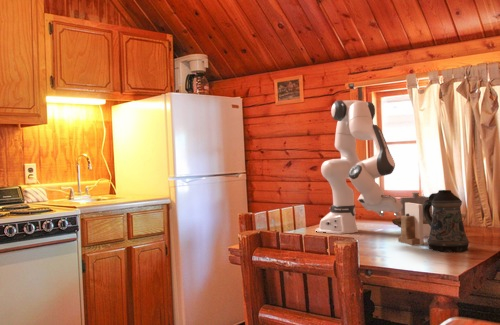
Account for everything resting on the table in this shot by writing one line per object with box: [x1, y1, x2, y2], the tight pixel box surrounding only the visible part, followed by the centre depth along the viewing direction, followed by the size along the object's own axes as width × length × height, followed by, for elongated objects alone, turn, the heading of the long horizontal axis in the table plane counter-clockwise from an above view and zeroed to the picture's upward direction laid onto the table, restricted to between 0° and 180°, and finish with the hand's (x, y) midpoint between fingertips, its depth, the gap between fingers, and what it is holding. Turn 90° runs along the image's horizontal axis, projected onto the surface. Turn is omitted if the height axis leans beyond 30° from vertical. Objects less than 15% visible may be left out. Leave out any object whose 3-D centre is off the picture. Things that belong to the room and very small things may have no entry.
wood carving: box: [391, 212, 467, 237], centre depth 247 cm, size 9×35×11 cm, turn 76°
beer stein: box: [423, 189, 470, 254], centre depth 214 cm, size 16×19×25 cm
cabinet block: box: [400, 214, 415, 239], centre depth 229 cm, size 4×4×11 cm
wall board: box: [397, 203, 424, 246], centre depth 229 cm, size 10×6×18 cm, turn 18°
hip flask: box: [399, 191, 433, 218], centre depth 264 cm, size 16×4×20 cm, turn 82°
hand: (390, 215), depth 228 cm, fingers open, 8 cm apart
